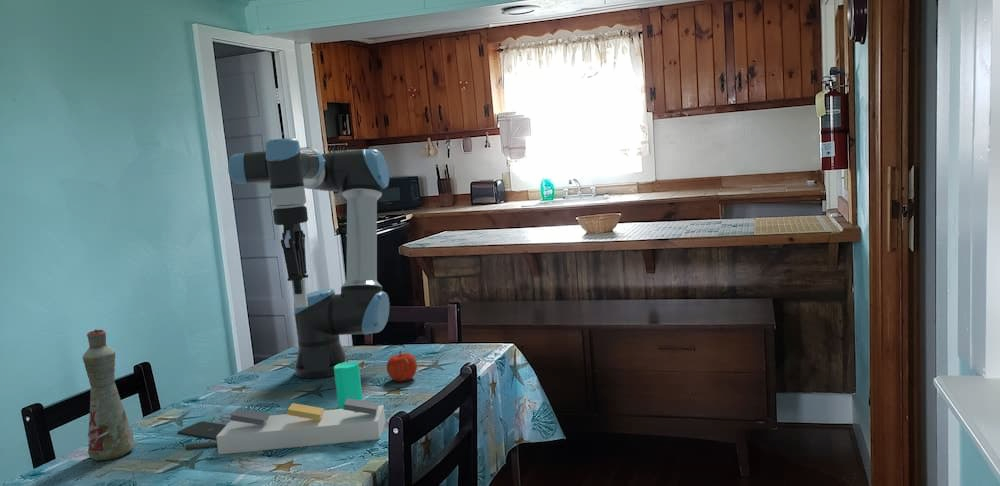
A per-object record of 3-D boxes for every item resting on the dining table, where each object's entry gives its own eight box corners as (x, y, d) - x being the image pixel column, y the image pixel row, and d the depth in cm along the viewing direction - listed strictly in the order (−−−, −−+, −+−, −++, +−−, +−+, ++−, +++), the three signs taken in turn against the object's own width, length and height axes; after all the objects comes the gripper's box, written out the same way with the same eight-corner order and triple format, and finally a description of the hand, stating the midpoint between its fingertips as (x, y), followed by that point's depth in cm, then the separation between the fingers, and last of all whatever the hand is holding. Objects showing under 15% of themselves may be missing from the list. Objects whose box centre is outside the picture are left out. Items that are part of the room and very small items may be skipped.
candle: (357, 410, 171) (352, 362, 169) (334, 411, 172) (328, 362, 171) (367, 402, 177) (361, 354, 175) (344, 402, 178) (339, 355, 176)
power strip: (194, 440, 160) (191, 422, 160) (385, 421, 162) (383, 404, 161) (175, 458, 150) (172, 439, 150) (379, 439, 152) (377, 420, 151)
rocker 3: (346, 403, 157) (347, 398, 157) (378, 408, 157) (378, 403, 157) (343, 409, 153) (344, 404, 153) (375, 414, 153) (376, 409, 153)
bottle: (131, 457, 153) (112, 330, 150) (84, 466, 151) (63, 336, 147) (139, 443, 161) (121, 322, 158) (95, 451, 159) (75, 328, 156)
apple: (423, 379, 191) (420, 350, 190) (396, 386, 187) (393, 357, 186) (409, 373, 198) (406, 345, 197) (383, 380, 193) (380, 351, 193)
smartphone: (201, 419, 172) (245, 426, 165) (201, 423, 172) (245, 430, 165) (174, 431, 166) (219, 438, 159) (175, 435, 166) (219, 442, 159)
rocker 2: (291, 408, 156) (292, 403, 156) (323, 413, 157) (324, 408, 157) (286, 414, 152) (287, 409, 152) (319, 420, 153) (320, 415, 153)
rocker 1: (236, 413, 156) (237, 408, 156) (268, 418, 156) (269, 413, 156) (230, 420, 152) (231, 414, 152) (263, 425, 152) (264, 420, 152)
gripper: (280, 206, 170) (292, 302, 173) (264, 209, 158) (277, 314, 160) (312, 203, 171) (323, 300, 173) (299, 206, 158) (311, 311, 161)
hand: (301, 306), depth 167 cm, fingers closed
